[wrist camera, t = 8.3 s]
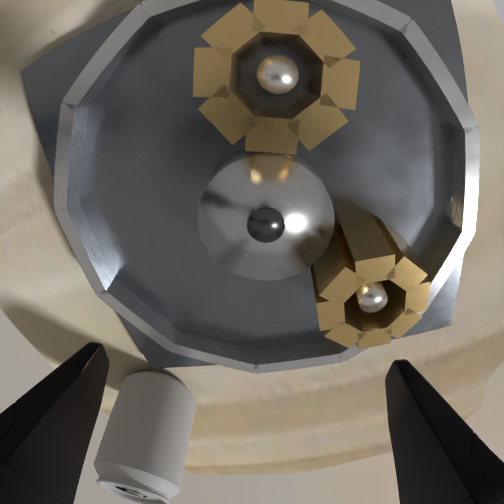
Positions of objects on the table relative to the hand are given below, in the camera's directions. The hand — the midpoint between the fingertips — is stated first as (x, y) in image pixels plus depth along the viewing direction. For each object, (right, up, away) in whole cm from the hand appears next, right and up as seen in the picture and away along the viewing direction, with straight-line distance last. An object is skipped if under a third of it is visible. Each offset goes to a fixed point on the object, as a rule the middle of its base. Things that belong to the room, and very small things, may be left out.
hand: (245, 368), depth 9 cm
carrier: (+1, +6, +9) cm, 12 cm away
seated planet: (+7, +3, +10) cm, 13 cm away
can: (-9, -10, +20) cm, 24 cm away
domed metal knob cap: (+1, +6, +9) cm, 11 cm away
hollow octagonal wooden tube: (+1, +12, +5) cm, 13 cm away
